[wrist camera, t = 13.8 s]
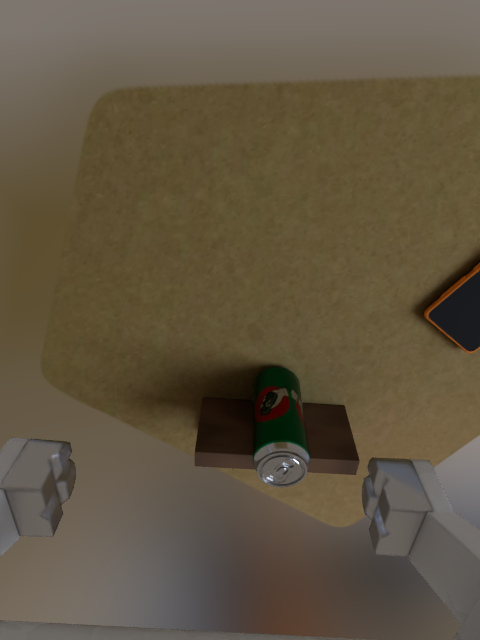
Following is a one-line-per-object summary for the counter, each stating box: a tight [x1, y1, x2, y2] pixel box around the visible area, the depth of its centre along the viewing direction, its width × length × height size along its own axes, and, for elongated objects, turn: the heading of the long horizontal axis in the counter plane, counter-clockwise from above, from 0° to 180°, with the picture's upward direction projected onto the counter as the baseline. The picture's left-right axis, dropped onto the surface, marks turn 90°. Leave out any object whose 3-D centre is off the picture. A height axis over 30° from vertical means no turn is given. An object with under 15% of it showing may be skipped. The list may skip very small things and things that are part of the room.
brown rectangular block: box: [195, 398, 360, 475], centre depth 46 cm, size 16×5×8 cm, turn 87°
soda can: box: [253, 367, 310, 487], centre depth 42 cm, size 5×5×12 cm
